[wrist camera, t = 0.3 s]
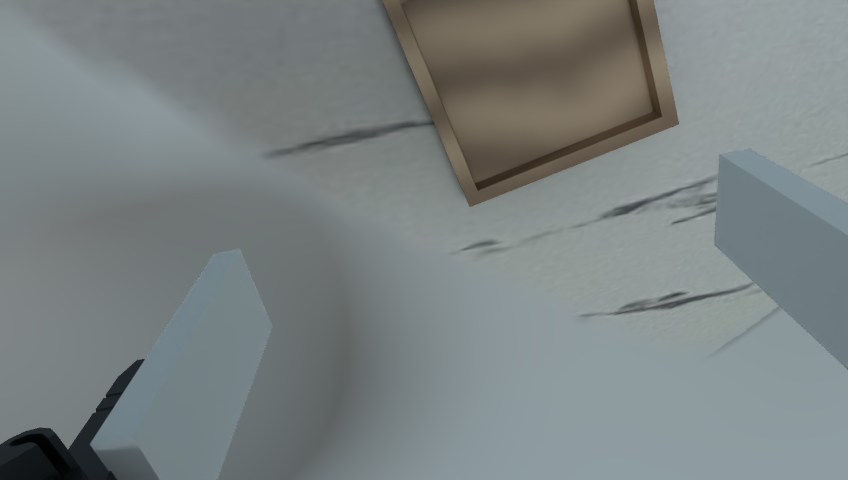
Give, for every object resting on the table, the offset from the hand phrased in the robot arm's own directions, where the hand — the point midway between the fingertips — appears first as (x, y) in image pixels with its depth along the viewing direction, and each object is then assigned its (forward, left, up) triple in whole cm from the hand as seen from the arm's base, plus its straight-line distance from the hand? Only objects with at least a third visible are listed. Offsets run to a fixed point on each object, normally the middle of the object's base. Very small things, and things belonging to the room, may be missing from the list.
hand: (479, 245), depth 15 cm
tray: (+2, +7, -27) cm, 28 cm away
